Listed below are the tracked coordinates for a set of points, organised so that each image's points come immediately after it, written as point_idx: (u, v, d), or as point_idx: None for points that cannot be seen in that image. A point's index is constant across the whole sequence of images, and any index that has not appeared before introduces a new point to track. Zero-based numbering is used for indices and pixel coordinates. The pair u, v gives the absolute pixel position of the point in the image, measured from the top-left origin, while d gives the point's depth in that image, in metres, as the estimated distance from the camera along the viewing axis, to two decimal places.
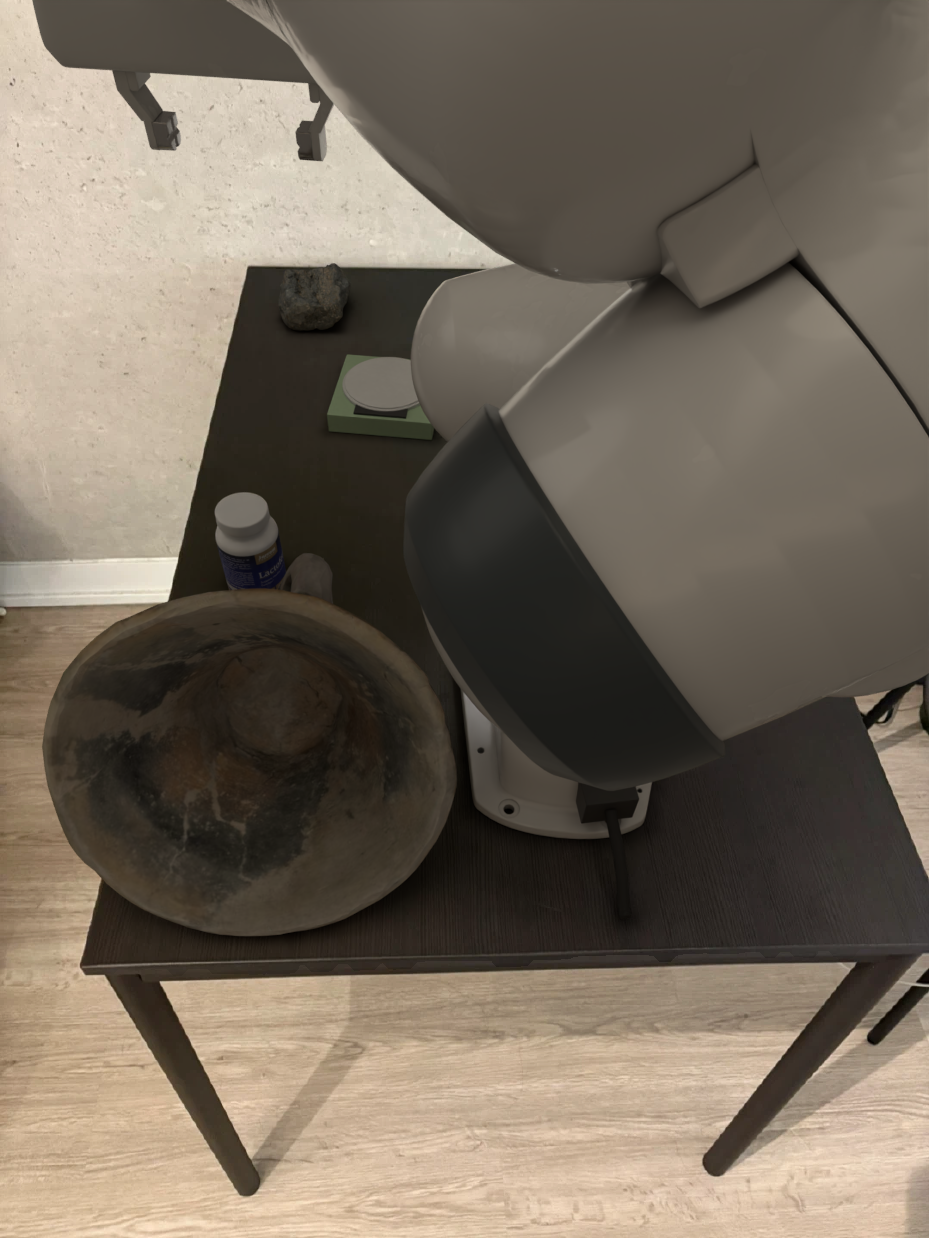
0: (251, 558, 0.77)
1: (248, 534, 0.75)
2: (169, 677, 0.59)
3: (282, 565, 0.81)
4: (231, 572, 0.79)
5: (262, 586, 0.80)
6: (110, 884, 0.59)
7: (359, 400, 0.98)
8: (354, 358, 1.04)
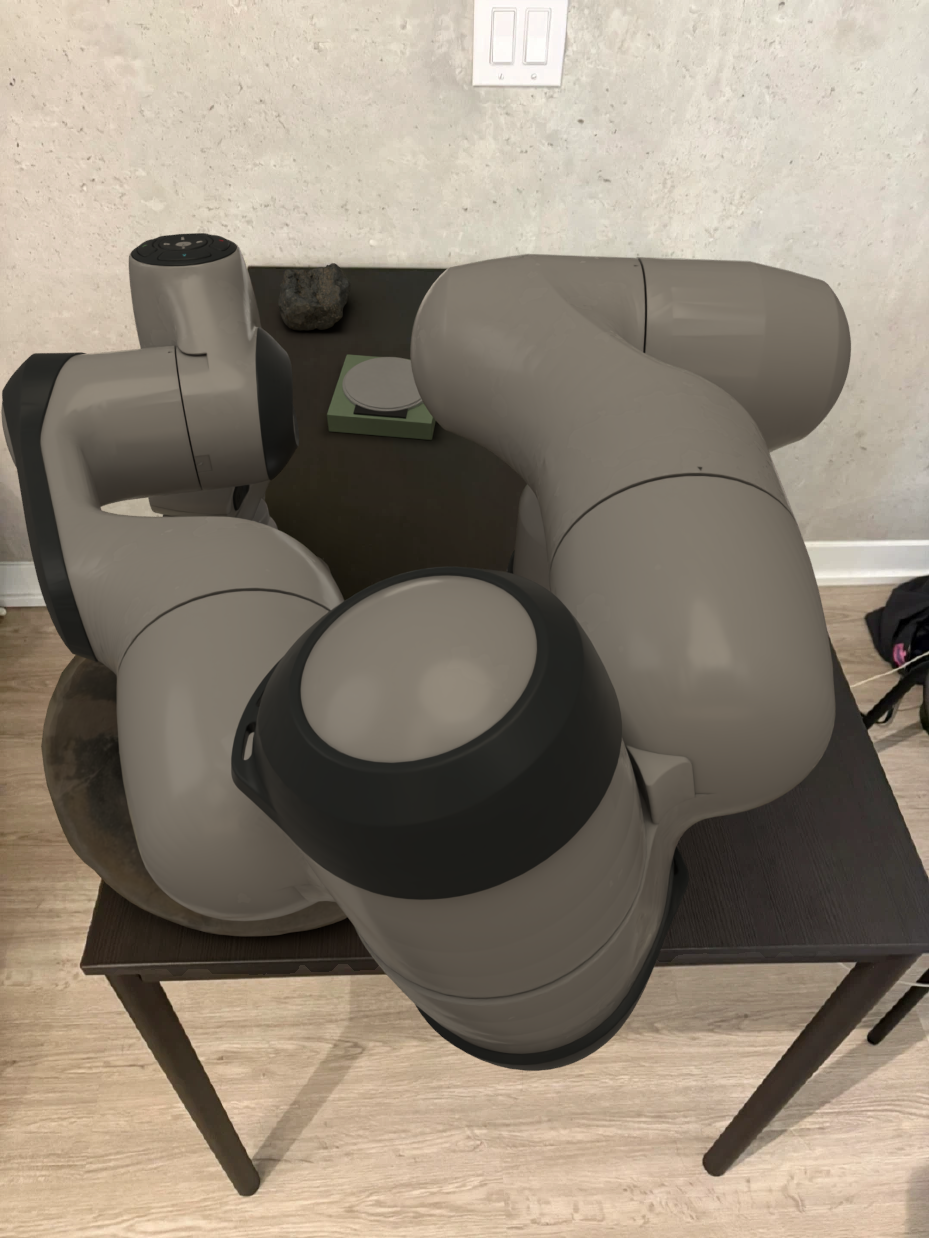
0: None
1: None
2: None
3: None
4: None
5: None
6: (109, 883, 0.59)
7: (359, 400, 0.98)
8: (354, 358, 1.04)
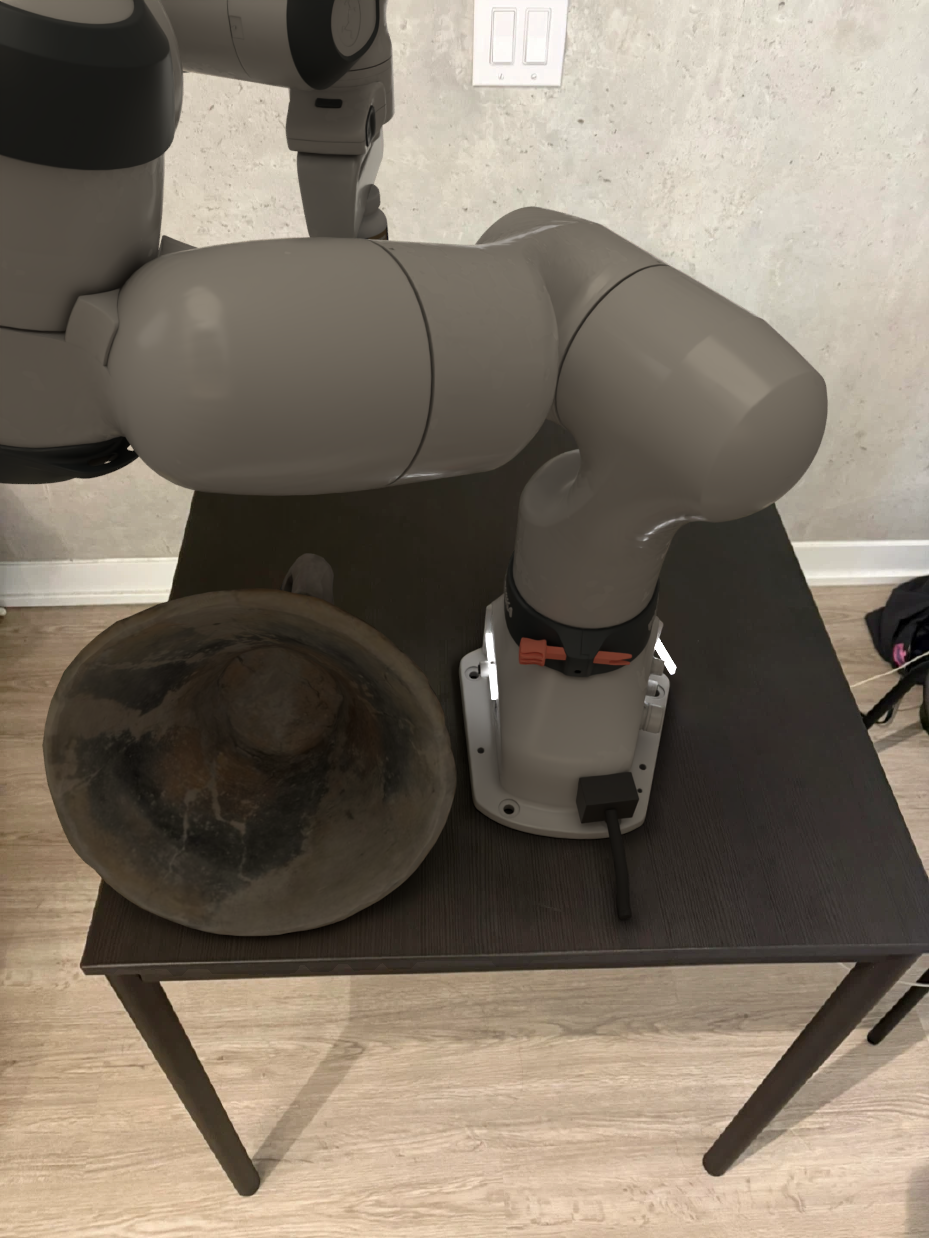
0: None
1: None
2: (170, 676, 0.59)
3: None
4: None
5: None
6: (109, 883, 0.59)
7: None
8: None
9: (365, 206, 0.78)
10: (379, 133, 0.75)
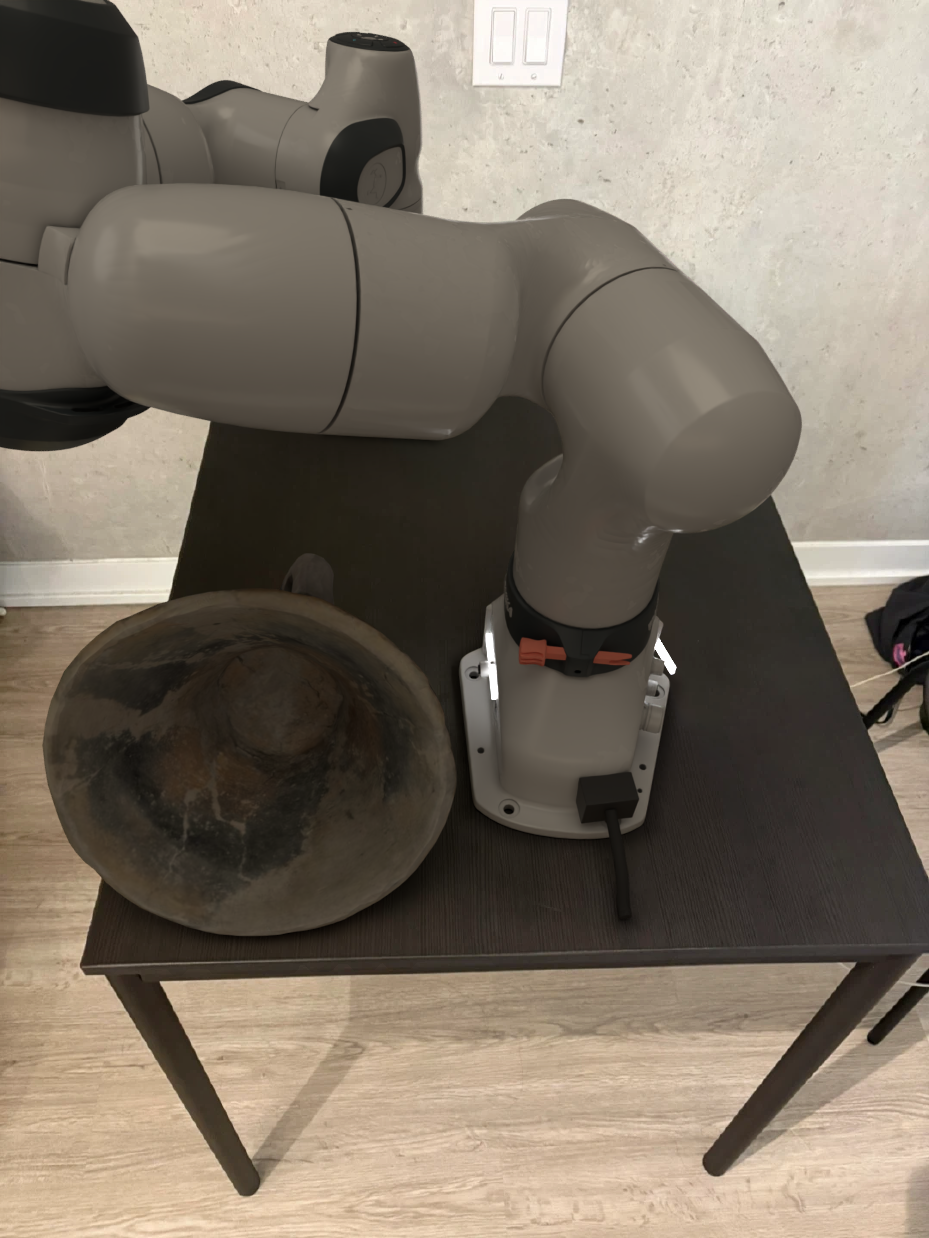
0: None
1: None
2: (170, 676, 0.59)
3: None
4: None
5: None
6: (109, 883, 0.59)
7: None
8: None
9: None
10: None
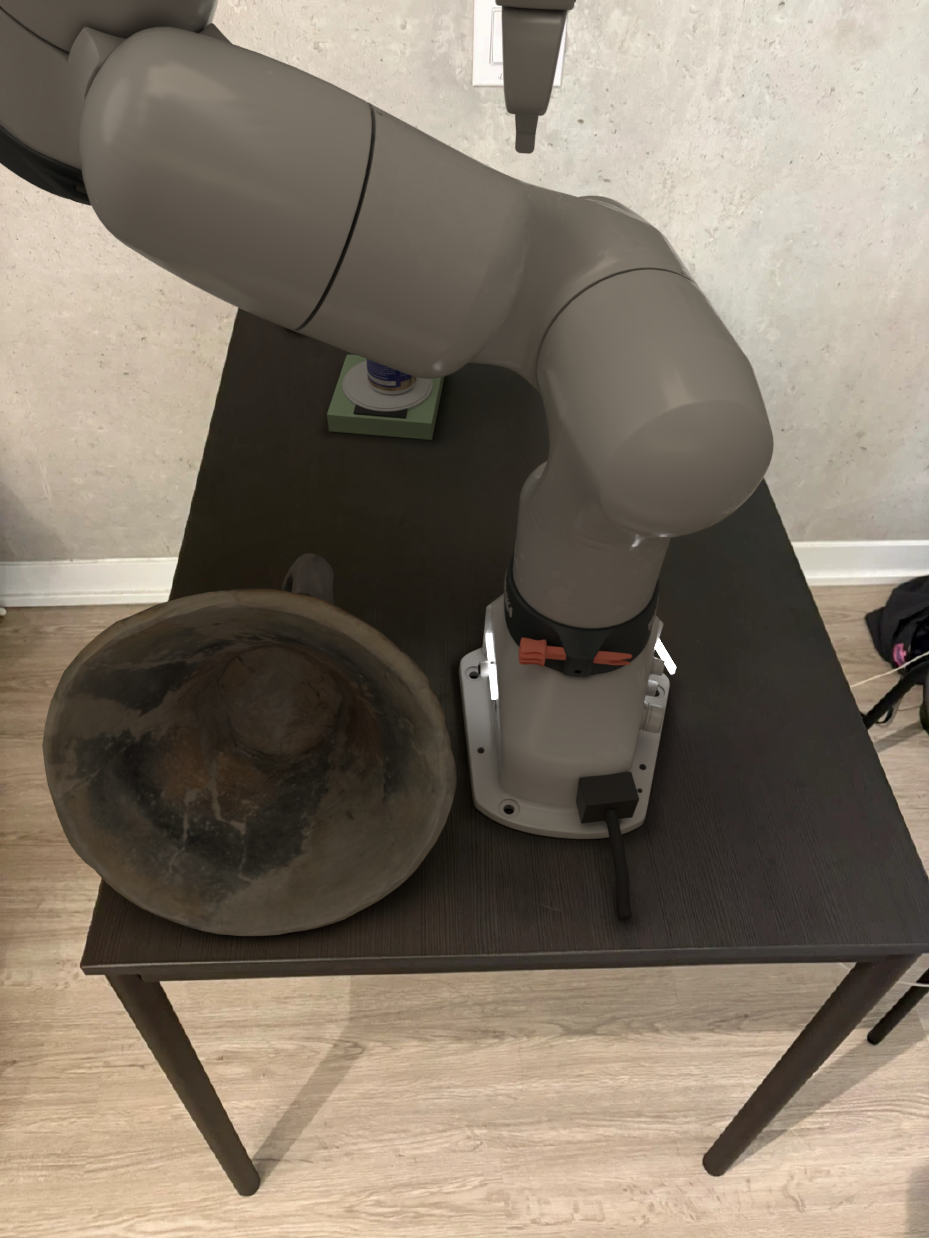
0: None
1: None
2: (170, 676, 0.59)
3: None
4: None
5: (401, 376, 0.97)
6: (109, 883, 0.59)
7: (359, 400, 0.98)
8: (354, 358, 1.04)
9: None
10: None
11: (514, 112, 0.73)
